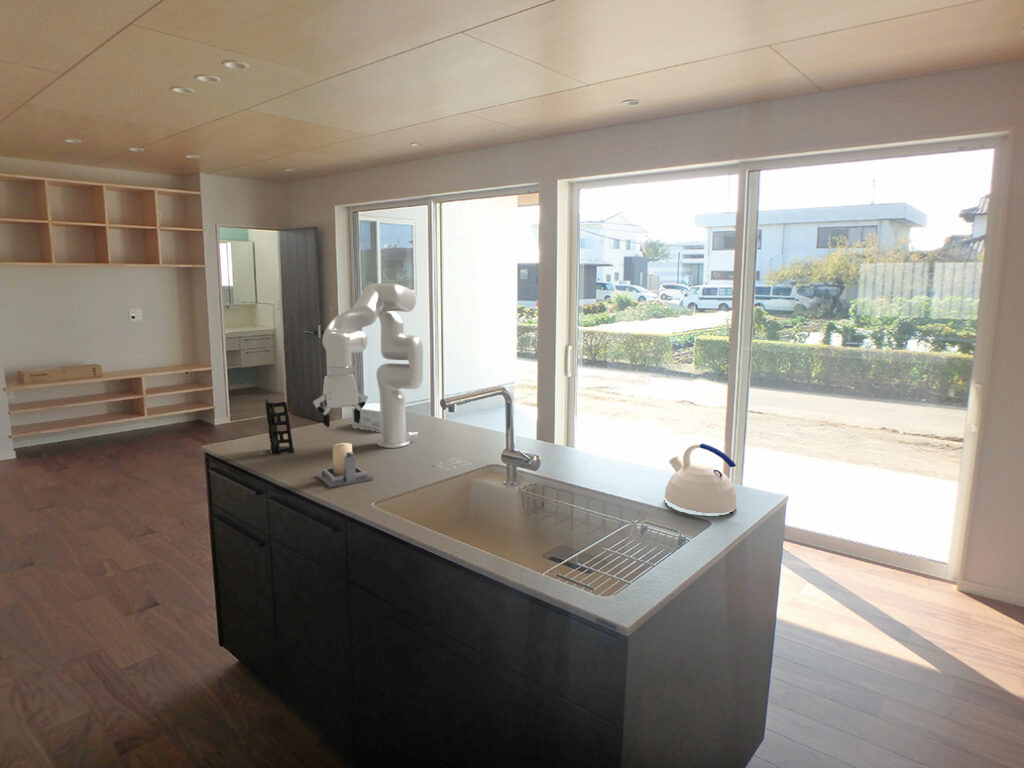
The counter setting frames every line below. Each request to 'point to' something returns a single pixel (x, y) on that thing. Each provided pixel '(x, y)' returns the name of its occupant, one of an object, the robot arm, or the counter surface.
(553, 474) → the counter surface
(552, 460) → the counter surface
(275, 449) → the holder
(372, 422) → the supplement box
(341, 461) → the paper roll
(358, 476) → the stand
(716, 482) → the kettle
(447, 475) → the counter surface
